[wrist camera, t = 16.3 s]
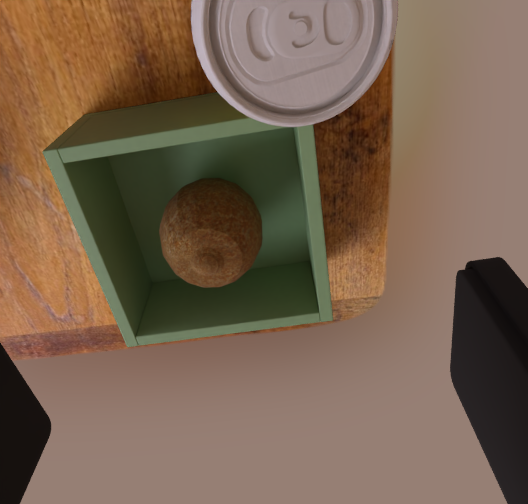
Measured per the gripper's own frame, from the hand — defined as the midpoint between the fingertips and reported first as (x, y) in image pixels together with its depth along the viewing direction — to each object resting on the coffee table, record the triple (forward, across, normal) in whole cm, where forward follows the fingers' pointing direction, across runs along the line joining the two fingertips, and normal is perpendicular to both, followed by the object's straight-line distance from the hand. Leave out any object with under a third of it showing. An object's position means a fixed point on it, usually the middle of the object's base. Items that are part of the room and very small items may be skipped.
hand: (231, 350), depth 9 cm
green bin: (+22, +4, +6) cm, 23 cm away
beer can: (+22, -2, -5) cm, 23 cm away
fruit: (+22, +4, +7) cm, 23 cm away
